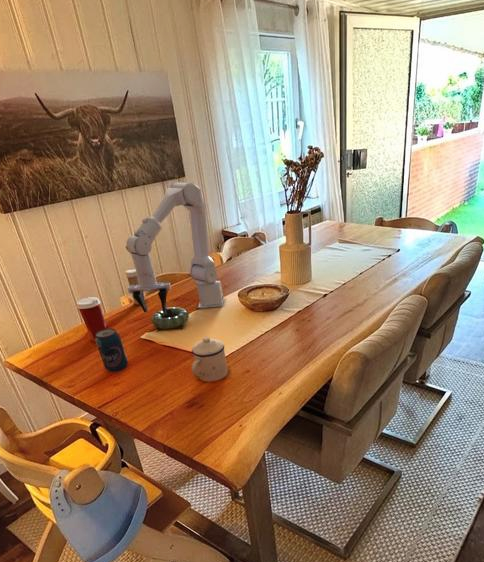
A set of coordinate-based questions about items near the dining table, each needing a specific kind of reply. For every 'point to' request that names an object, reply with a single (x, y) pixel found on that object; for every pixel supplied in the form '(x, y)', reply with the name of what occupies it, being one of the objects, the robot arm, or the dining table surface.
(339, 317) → the dining table surface
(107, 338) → the soda can
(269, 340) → the dining table surface
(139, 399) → the dining table surface
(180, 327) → the holder
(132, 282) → the sprinkles bottle
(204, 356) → the teacup with lid
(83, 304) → the paper cup
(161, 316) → the ring
